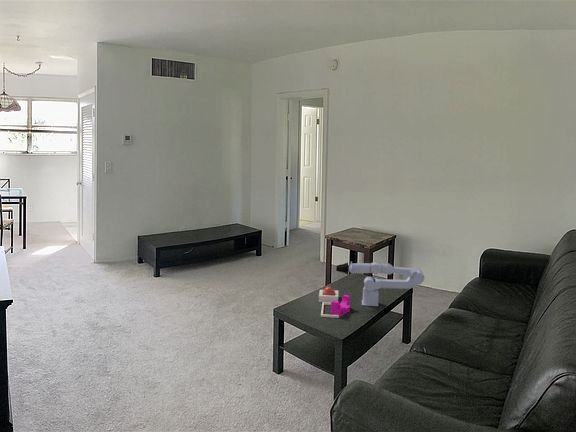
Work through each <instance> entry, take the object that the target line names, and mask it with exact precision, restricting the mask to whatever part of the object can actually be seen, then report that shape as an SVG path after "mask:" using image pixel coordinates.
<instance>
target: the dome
mask: <svg viewBox="0 0 576 432" xmlns="http://www.w3.org/2000/svg"><path fill="white" fill-rule="evenodd" d="M322 290H323V295H335V291H334V290H335V289H333V288H332V287H330V286H327V287H325V288H324V289H322Z"/></svg>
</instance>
